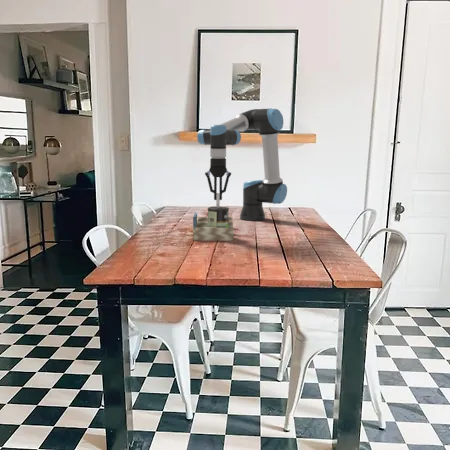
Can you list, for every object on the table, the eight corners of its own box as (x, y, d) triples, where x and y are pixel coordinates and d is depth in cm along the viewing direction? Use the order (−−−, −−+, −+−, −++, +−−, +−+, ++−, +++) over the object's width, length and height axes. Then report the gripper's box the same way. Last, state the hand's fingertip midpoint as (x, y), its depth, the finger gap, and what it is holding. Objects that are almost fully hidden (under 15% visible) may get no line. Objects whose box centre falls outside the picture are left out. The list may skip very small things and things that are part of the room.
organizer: (232, 228, 254) (232, 207, 252) (233, 240, 223) (233, 217, 221) (196, 227, 253) (196, 207, 251) (193, 240, 222) (192, 217, 220)
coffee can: (230, 234, 235) (230, 206, 232) (226, 238, 225) (226, 209, 222) (210, 233, 237) (210, 206, 234) (205, 237, 227) (205, 209, 224)
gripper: (231, 157, 227) (231, 205, 232) (204, 157, 227) (204, 205, 231) (232, 158, 220) (231, 207, 224) (204, 158, 220) (204, 207, 224)
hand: (217, 206), depth 228 cm, fingers closed
